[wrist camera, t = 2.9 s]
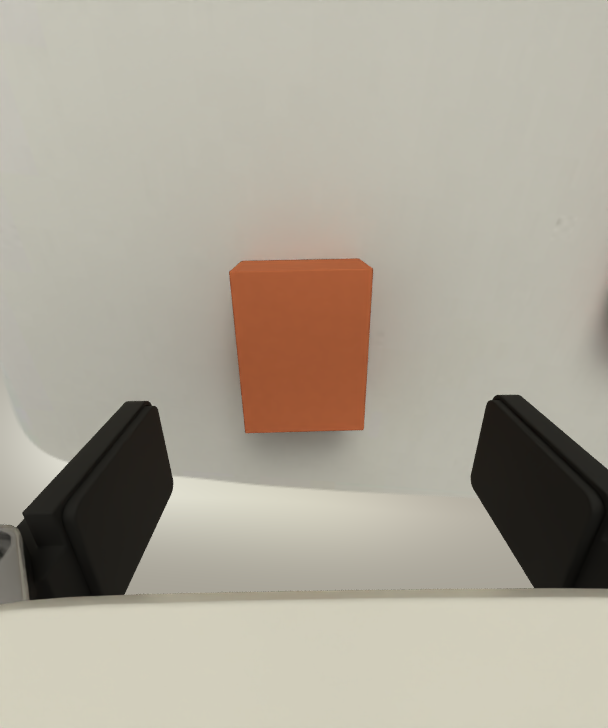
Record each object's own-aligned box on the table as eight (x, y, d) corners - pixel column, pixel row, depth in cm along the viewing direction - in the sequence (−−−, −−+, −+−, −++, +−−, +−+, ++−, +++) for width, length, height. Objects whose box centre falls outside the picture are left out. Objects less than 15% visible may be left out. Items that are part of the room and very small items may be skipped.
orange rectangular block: (253, 399, 21) (245, 433, 18) (241, 261, 18) (228, 271, 14) (353, 397, 21) (363, 430, 18) (359, 258, 18) (373, 268, 15)
